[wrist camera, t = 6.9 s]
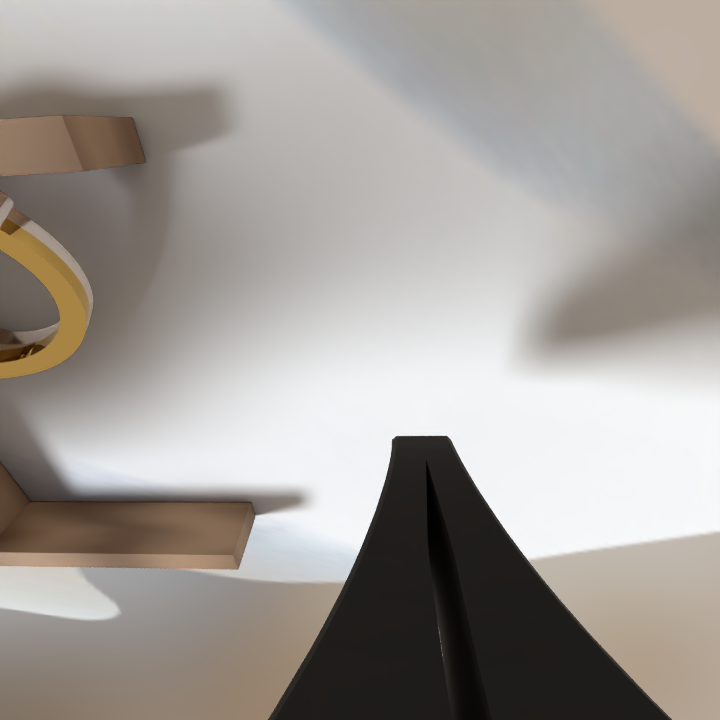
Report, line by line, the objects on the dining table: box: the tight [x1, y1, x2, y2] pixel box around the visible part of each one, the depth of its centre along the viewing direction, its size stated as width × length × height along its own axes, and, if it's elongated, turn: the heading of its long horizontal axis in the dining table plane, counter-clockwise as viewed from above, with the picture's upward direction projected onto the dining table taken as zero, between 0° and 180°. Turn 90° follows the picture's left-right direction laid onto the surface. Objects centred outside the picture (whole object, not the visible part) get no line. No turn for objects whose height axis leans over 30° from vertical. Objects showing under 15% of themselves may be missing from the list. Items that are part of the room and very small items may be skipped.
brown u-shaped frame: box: [0, 115, 255, 569], centre depth 13 cm, size 12×16×2 cm
